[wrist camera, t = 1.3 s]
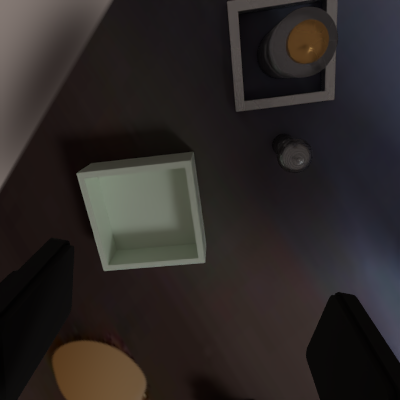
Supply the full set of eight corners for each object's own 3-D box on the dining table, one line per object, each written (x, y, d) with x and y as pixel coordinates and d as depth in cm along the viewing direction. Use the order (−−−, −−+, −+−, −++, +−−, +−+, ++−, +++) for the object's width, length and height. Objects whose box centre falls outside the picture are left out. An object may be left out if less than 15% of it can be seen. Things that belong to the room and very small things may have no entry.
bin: (193, 151, 30) (190, 160, 27) (206, 244, 34) (205, 262, 31) (91, 163, 31) (76, 173, 28) (114, 252, 35) (103, 270, 32)
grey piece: (332, -12, 25) (367, -41, 19) (328, 153, 30) (355, 171, 24) (226, 4, 25) (229, -18, 20) (239, 163, 30) (244, 182, 25)
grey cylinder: (303, 24, 26) (344, -2, 18) (303, 75, 27) (341, 72, 19) (255, 31, 26) (273, 9, 18) (258, 81, 28) (276, 81, 19)
